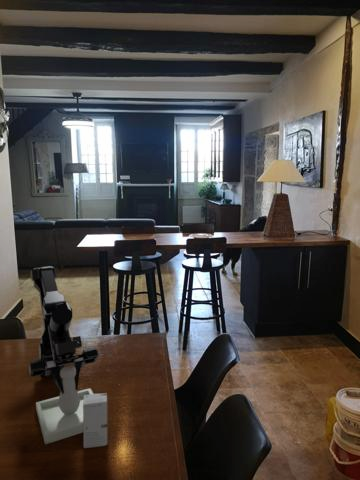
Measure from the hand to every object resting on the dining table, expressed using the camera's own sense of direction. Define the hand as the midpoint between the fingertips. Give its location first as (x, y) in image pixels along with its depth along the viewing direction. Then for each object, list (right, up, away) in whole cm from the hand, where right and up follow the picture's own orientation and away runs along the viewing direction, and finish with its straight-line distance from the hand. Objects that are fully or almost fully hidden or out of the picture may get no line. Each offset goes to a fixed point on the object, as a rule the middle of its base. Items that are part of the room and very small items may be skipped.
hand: (69, 391), depth 102 cm
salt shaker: (-1, -6, +2) cm, 7 cm away
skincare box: (+9, -10, -7) cm, 15 cm away
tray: (-1, -8, +2) cm, 9 cm away
